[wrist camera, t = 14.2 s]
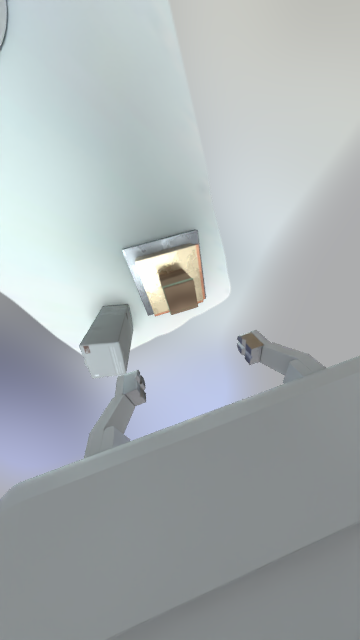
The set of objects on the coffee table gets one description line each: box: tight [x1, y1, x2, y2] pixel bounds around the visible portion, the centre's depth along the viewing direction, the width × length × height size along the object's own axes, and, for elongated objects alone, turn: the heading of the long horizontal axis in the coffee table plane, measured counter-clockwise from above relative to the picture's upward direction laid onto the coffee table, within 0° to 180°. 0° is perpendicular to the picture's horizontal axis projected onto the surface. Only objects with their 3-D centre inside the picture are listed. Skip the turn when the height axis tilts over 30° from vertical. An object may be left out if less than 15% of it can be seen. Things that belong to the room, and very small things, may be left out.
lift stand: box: [122, 230, 206, 316], centre depth 34 cm, size 16×16×6 cm
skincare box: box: [79, 305, 133, 379], centre depth 33 cm, size 8×7×16 cm
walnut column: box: [159, 269, 198, 315], centre depth 29 cm, size 5×5×8 cm
